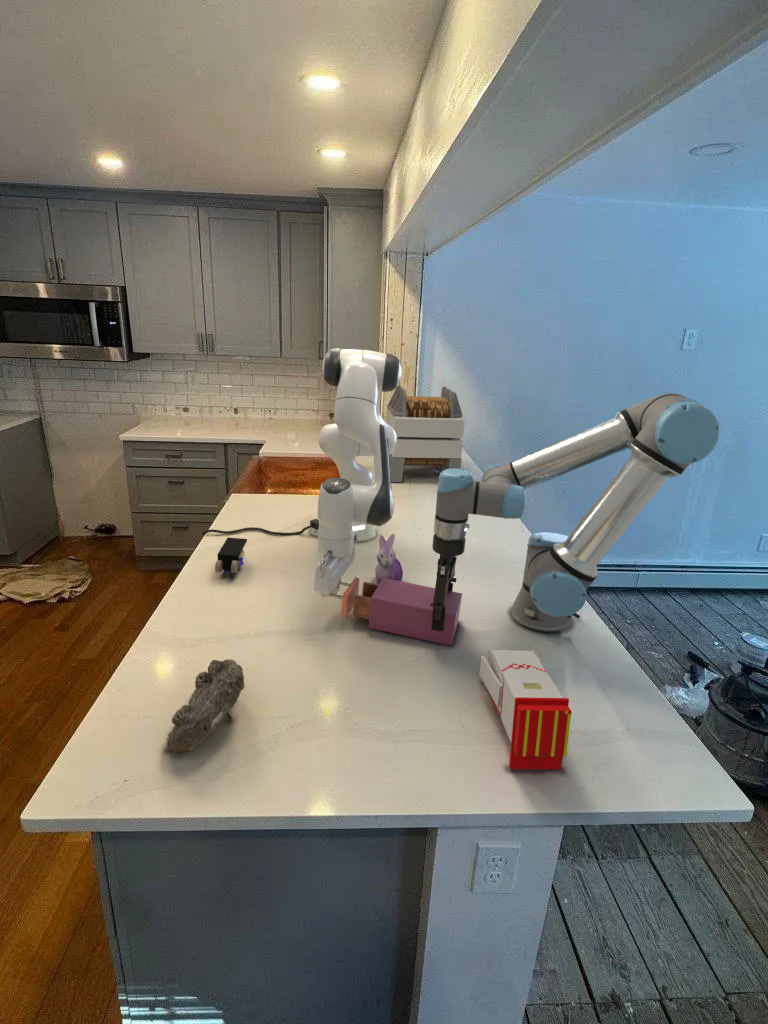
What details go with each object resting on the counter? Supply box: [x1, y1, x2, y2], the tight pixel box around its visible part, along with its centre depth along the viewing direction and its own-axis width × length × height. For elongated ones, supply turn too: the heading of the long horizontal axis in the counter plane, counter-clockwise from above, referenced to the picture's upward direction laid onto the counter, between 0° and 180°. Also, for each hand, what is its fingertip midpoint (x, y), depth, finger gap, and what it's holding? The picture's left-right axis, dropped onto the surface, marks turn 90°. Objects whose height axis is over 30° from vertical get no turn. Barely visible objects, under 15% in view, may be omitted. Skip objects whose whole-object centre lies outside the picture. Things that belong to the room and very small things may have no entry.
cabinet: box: [368, 578, 463, 647], centre depth 140 cm, size 21×11×8 cm, turn 75°
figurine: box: [373, 533, 404, 585], centre depth 160 cm, size 9×10×15 cm
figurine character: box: [214, 537, 248, 578], centre depth 166 cm, size 7×8×15 cm
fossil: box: [166, 658, 245, 754], centre depth 106 cm, size 22×10×15 cm
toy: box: [479, 649, 572, 771], centre depth 110 cm, size 12×13×30 cm
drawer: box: [320, 576, 379, 620], centre depth 143 cm, size 25×10×6 cm, turn 75°
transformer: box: [385, 384, 465, 483], centre depth 268 cm, size 34×33×41 cm
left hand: (334, 593), depth 145 cm, fingers closed, pressing on drawer
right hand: (441, 617), depth 139 cm, fingers closed on cabinet, 11 cm apart
